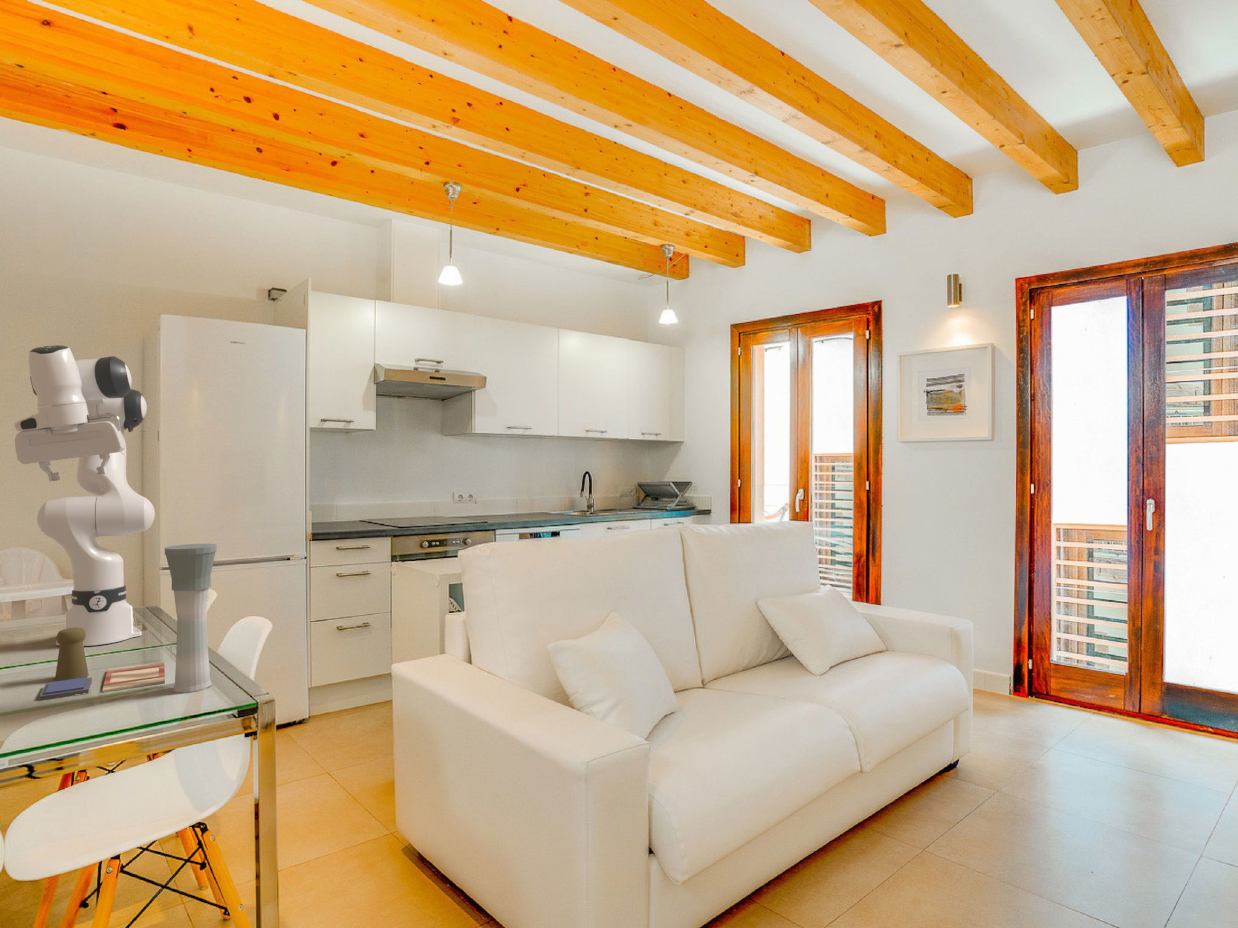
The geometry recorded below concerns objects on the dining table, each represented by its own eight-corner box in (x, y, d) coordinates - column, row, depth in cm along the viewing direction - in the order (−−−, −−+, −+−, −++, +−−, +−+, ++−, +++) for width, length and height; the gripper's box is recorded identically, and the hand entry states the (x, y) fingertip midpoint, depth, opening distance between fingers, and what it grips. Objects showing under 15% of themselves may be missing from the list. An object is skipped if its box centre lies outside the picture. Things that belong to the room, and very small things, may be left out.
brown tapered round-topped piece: (70, 682, 158) (69, 631, 158) (47, 680, 159) (46, 630, 159) (95, 674, 164) (94, 625, 164) (73, 672, 165) (72, 624, 165)
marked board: (107, 671, 166) (107, 668, 166) (164, 663, 172) (164, 661, 172) (102, 692, 151) (102, 689, 151) (164, 682, 157) (164, 680, 157)
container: (157, 690, 152) (155, 547, 152) (202, 678, 160) (200, 542, 160) (182, 697, 147) (180, 549, 147) (227, 684, 155) (225, 544, 155)
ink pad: (45, 687, 155) (45, 681, 155) (91, 680, 159) (91, 675, 159) (39, 700, 146) (39, 694, 146) (88, 693, 150) (88, 687, 150)
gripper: (122, 411, 170) (134, 468, 172) (18, 422, 164) (33, 482, 166) (113, 412, 164) (126, 472, 166) (5, 424, 158) (20, 486, 160)
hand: (79, 477), depth 166 cm, fingers open, 8 cm apart
